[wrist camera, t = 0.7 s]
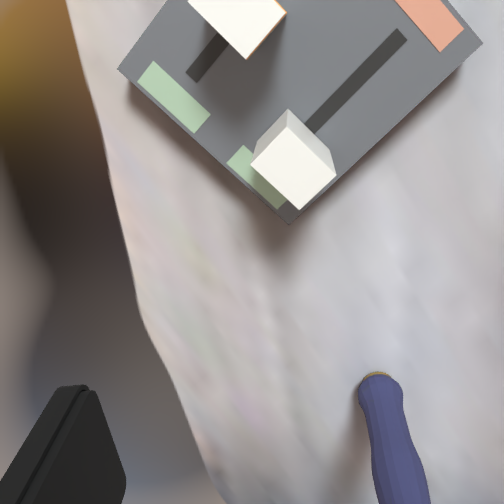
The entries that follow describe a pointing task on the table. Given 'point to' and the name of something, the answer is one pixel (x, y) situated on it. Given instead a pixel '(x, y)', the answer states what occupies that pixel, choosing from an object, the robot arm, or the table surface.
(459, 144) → the table surface
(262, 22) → the block
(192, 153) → the table surface
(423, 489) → the rubber mallet
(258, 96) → the breaker panel
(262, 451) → the table surface
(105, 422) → the robot arm
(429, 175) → the table surface
